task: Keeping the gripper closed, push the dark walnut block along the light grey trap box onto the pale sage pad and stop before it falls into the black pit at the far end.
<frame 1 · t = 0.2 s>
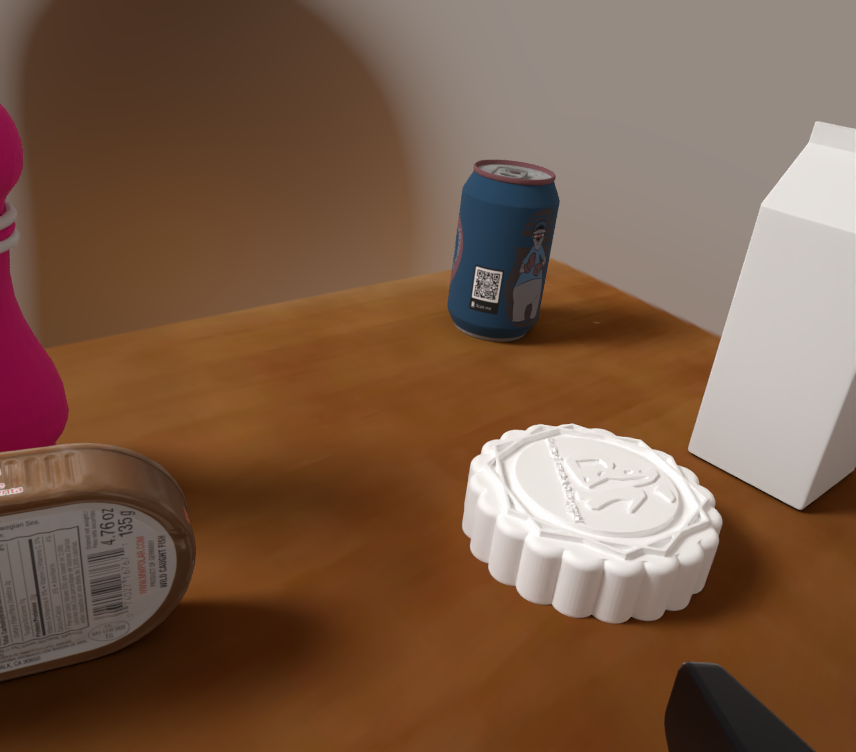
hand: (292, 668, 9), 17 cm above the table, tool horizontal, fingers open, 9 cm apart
milk carton: (768, 466, 48), on the table
mooncake: (580, 541, 40), on the table
soda can: (489, 328, 62), on the table
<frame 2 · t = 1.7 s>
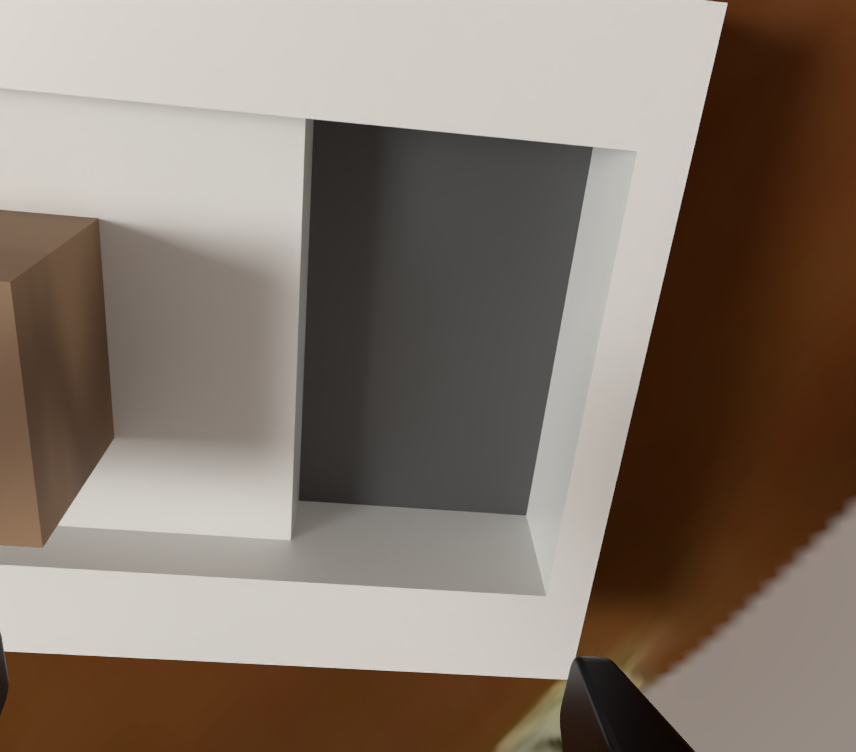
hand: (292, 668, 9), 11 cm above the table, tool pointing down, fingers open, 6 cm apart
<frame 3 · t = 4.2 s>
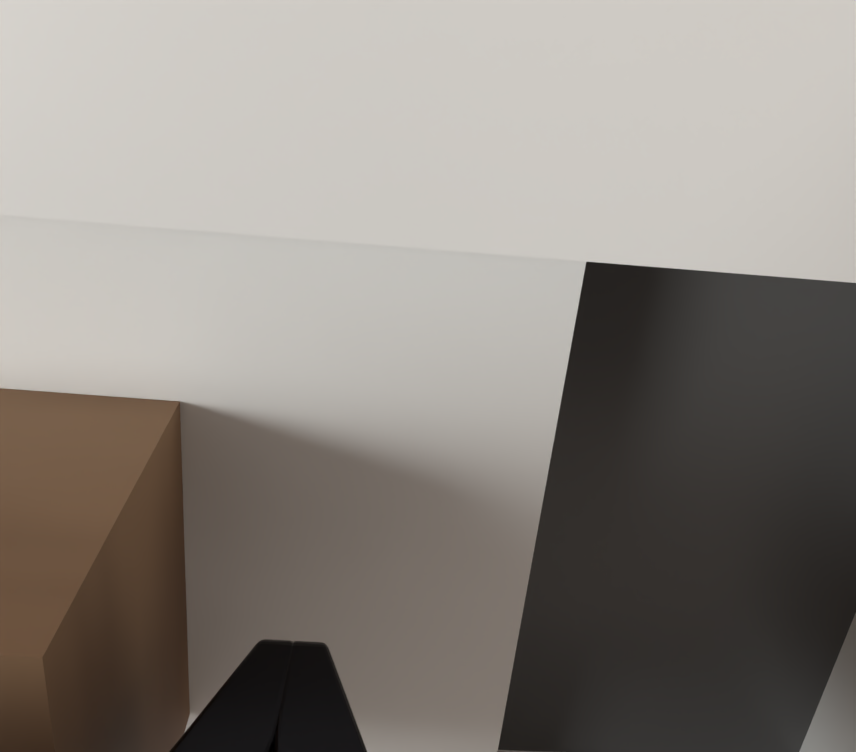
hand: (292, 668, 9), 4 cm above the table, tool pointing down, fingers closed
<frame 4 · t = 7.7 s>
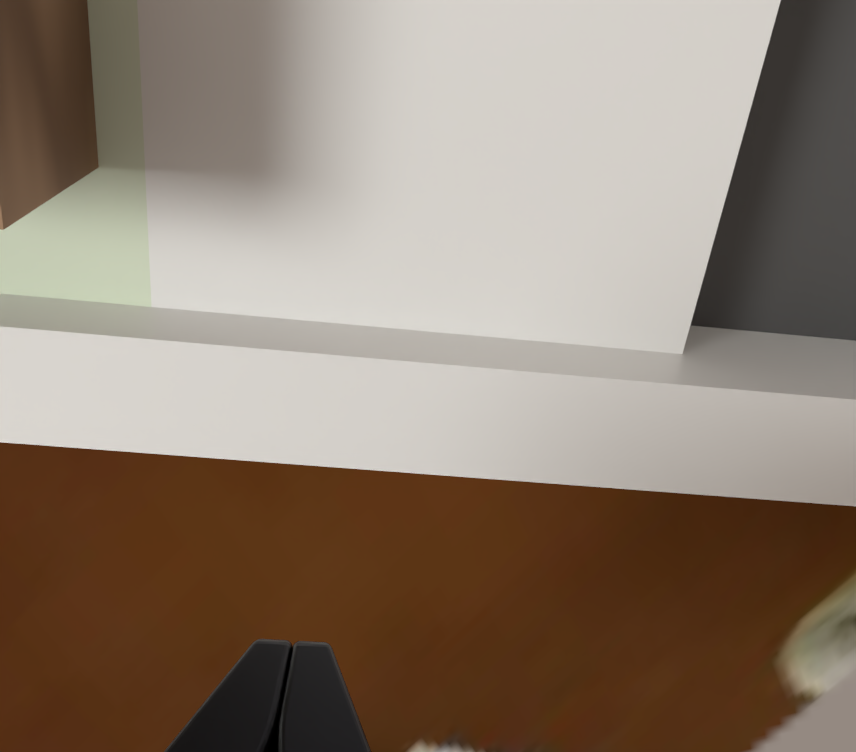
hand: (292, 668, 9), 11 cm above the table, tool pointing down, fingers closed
trap box: (246, 40, 16), on the table
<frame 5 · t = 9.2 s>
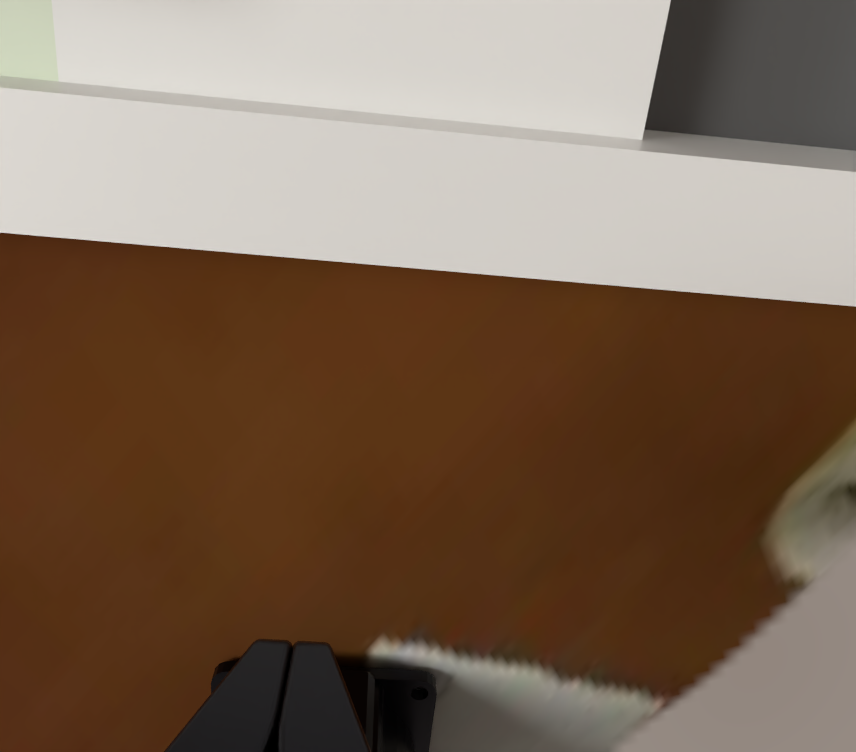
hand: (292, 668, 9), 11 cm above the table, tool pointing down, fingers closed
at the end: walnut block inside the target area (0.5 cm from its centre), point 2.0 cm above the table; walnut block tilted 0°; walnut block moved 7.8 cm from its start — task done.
